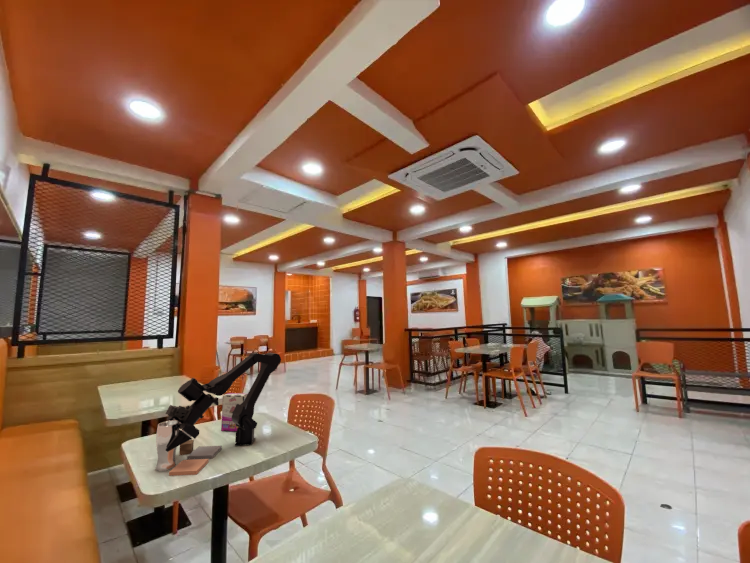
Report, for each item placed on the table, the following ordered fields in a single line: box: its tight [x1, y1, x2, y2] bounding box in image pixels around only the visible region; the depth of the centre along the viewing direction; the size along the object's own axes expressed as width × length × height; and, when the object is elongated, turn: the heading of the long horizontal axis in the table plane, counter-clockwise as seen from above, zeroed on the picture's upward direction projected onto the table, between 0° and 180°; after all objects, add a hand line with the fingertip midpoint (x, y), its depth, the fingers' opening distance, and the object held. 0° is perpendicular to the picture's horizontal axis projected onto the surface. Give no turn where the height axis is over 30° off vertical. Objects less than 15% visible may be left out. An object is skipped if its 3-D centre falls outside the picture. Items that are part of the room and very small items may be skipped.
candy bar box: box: [220, 392, 248, 433], centre depth 150 cm, size 11×5×16 cm, turn 81°
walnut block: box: [178, 439, 195, 456], centre depth 125 cm, size 4×4×4 cm
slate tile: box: [186, 445, 223, 460], centre depth 123 cm, size 9×9×1 cm
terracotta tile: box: [168, 459, 210, 477], centre depth 111 cm, size 9×9×1 cm
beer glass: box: [155, 420, 180, 472], centre depth 113 cm, size 7×7×15 cm
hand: (162, 447), depth 112 cm, fingers open, 8 cm apart
